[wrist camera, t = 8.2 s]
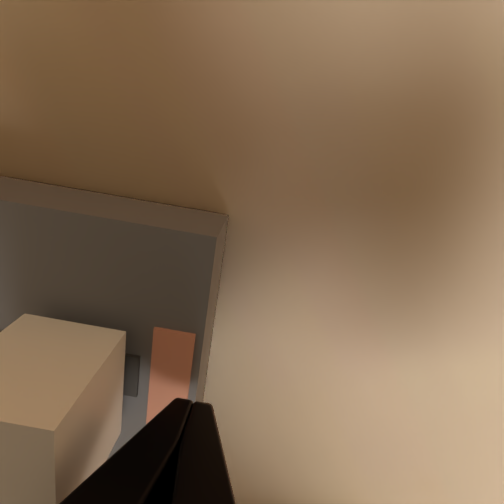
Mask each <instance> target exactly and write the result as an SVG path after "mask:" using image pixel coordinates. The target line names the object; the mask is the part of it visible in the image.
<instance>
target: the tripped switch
mask: <svg viewBox="0 0 504 504" xmlns="http://www.w3.org/2000/svg"><path fill="white" fill-rule="evenodd" d="M125 345H126V331H121V330H115V329H110V328H104V327H98V326H93V325H87V324H82V323H76V322H70V321H65V320H59V319H53V318H48V317H42V316H36V315H31V314H23V315H22V316H21V317H19V318H18V319H17V320H16V321H14V322H13V323H12V324H10V325H9V326H8V327H6V328H5V329H4V330H2V331H1V332H0V504H59V503H60V502H61V501H62V500H64V499H65V498H66V497H67V496H68V495H69V494H70V493H71V492H72V491H73V490H75V489H76V488H77V487H78V486H79V485H80V484H81V483H82V482H83V481H84V480H86V479H87V478H88V477H89V476H90V475H91V474H92V473H93V472H94V471H96V470H97V469H98V468H99V467H100V466H101V465H102V464H103V463H104V462H105V461H106V460H107V458H108V456H109V454H110V452H111V450H112V448H113V446H114V444H115V442H116V441H117V439H118V437H119V435H120V433H121V422H122V403H123V384H124V364H125Z"/></svg>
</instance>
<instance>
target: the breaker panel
mask: <svg viewBox="0 0 504 504" xmlns="http://www.w3.org/2000/svg"><path fill="white" fill-rule="evenodd" d="M228 217H229V215H225V214H219V213H214V212H208V211H202V210H196V209H190V208H184V207H179V206H173V205H167V204H161V203H155V202H149V201H144V200H138V199H132V198H126V197H120V196H114V195H109V194H103V193H97V192H91V191H85V190H79V189H74V188H68V187H62V186H56V185H50V184H44V183H39V182H33V181H27V180H21V179H15V178H9V177H4V176H0V332H1V331H2V330H4V329H5V328H6V327H8V326H9V325H10V324H12V323H13V322H14V321H16V320H17V319H18V318H19V317H21V316H22V315H23V314H31V315H36V316H42V317H48V318H53V319H59V320H65V321H70V322H76V323H82V324H87V325H93V326H98V327H104V328H110V329H115V330H121V331H126V345H125V364H124V384H123V403H122V422H121V433H120V435H119V437H118V439H117V441H116V442H115V444H114V446H113V448H112V450H111V452H110V454H109V456H108V458H107V460H108V459H109V458H110V457H111V456H112V455H113V454H114V453H115V452H116V451H118V450H119V449H120V448H121V447H122V446H123V445H124V444H125V443H126V442H127V441H129V440H130V439H131V438H132V437H133V436H134V435H135V434H136V433H137V432H138V431H140V430H141V429H142V428H143V427H144V426H145V425H146V424H147V423H148V422H149V421H151V420H152V419H153V418H154V417H155V416H156V415H157V414H158V413H159V412H160V411H162V410H163V409H164V408H165V407H166V406H167V405H168V404H169V403H170V402H171V401H173V400H174V399H175V398H183V399H189V400H192V401H193V403H194V402H196V401H199V402H203V396H204V389H205V382H206V375H207V367H208V360H209V353H210V346H211V339H212V332H213V325H214V317H215V310H216V303H217V296H218V289H219V282H220V275H221V267H222V260H223V253H224V246H225V239H226V232H227V225H228ZM107 460H106V461H107Z"/></svg>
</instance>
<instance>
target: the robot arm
mask: <svg viewBox="0 0 504 504" xmlns="http://www.w3.org/2000/svg"><path fill="white" fill-rule="evenodd" d="M59 504H236V503H235V499H234V495H233V490H232V486H231V482H230V478H229V473H228V469H227V465H226V461H225V457H224V452H223V448H222V444H221V440H220V436H219V431H218V427H217V423H216V419H215V414H214V410H213V406H212V405H211V404H210V403H205V402H199V401H196V402H194V403H193V401H192V400H189V399H183V398H175V399H174V400H173V401H171V402H170V403H169V404H168V405H167V406H166V407H165V408H164V409H163V410H162V411H160V412H159V413H158V414H157V415H156V416H155V417H154V418H153V419H152V420H151V421H149V422H148V423H147V424H146V425H145V426H144V427H143V428H142V429H141V430H140V431H138V432H137V433H136V434H135V435H134V436H133V437H132V438H131V439H130V440H129V441H127V442H126V443H125V444H124V445H123V446H122V447H121V448H120V449H119V450H118V451H116V452H115V453H114V454H113V455H112V456H111V457H110V458H109V459H108V460H107V461H105V462H104V463H103V464H102V465H101V466H100V467H99V468H98V469H97V470H96V471H94V472H93V473H92V474H91V475H90V476H89V477H88V478H87V479H86V480H84V481H83V482H82V483H81V484H80V485H79V486H78V487H77V488H76V489H75V490H73V491H72V492H71V493H70V494H69V495H68V496H67V497H66V498H65V499H64V500H62V501H61V502H60V503H59Z"/></svg>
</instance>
